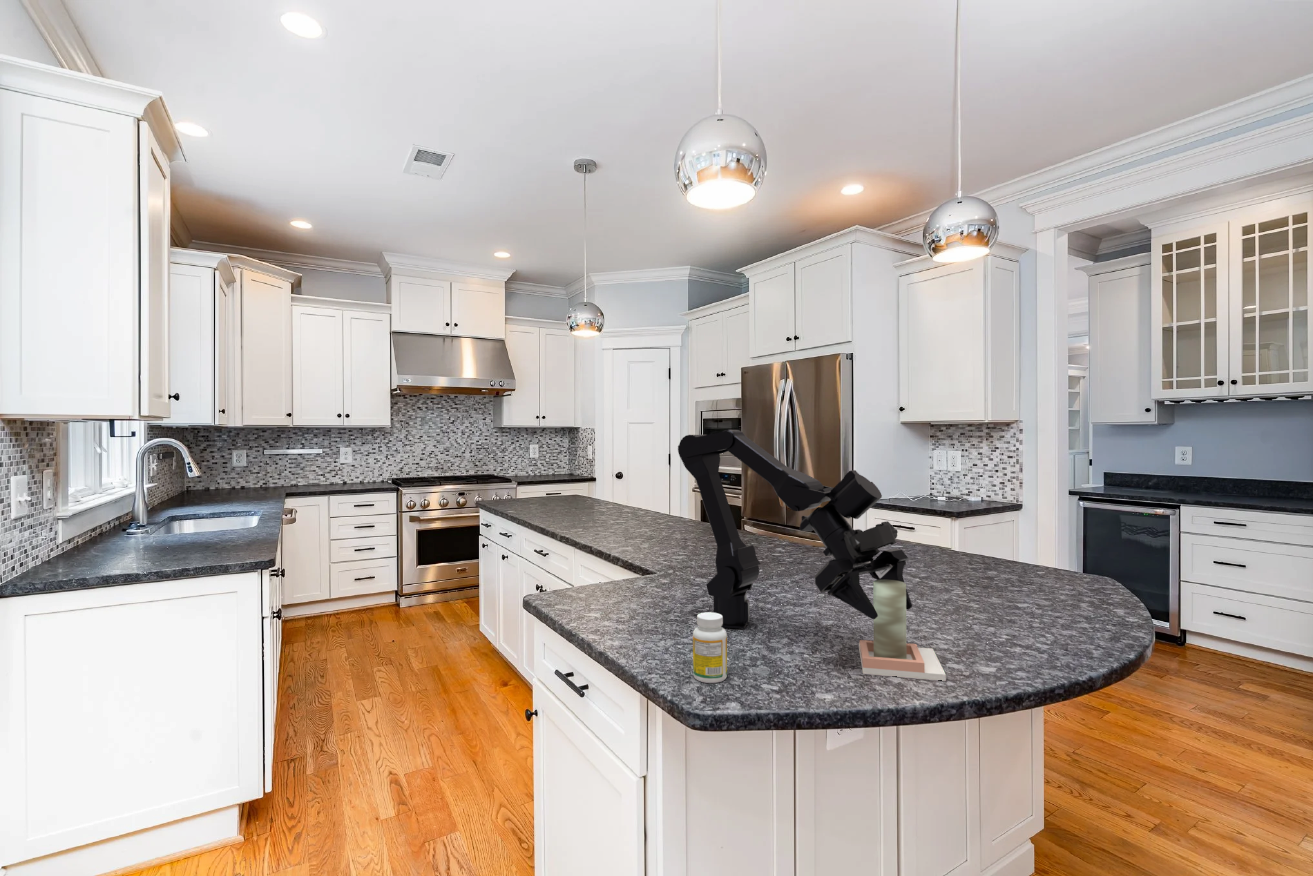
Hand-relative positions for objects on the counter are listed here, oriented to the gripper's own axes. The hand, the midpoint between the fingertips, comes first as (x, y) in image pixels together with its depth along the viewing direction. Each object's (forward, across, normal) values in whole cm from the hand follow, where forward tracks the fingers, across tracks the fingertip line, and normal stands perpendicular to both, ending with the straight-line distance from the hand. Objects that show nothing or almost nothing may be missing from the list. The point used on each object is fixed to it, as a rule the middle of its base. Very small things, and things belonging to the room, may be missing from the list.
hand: (893, 613), depth 100 cm
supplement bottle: (-4, -26, +17) cm, 31 cm away
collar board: (+6, +2, +6) cm, 9 cm away
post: (+5, 0, +6) cm, 8 cm away
